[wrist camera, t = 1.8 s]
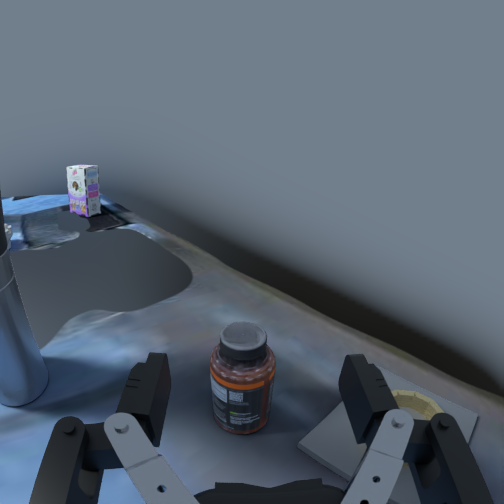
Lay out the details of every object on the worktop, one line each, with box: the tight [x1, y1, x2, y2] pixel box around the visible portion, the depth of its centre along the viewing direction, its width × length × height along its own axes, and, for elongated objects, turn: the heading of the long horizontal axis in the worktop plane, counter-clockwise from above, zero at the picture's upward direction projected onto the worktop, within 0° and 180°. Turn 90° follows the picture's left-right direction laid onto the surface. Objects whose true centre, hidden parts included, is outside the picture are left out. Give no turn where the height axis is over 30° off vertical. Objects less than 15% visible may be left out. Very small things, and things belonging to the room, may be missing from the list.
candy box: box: [66, 165, 101, 217], centre depth 94 cm, size 14×6×16 cm, turn 60°
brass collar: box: [391, 390, 444, 467], centre depth 26 cm, size 9×9×2 cm
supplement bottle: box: [210, 322, 275, 434], centre depth 28 cm, size 6×6×11 cm
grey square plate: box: [297, 365, 478, 504], centre depth 26 cm, size 16×16×1 cm
